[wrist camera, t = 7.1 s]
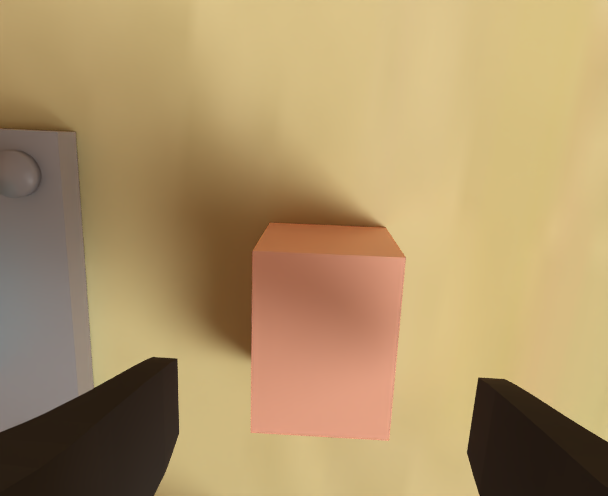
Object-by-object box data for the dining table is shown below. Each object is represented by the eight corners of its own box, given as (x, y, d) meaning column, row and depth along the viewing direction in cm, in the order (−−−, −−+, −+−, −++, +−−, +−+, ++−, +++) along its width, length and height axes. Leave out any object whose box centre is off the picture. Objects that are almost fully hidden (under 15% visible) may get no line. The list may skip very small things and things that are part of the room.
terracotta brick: (374, 370, 19) (389, 440, 15) (267, 364, 19) (250, 432, 15) (385, 226, 18) (405, 257, 13) (270, 222, 18) (252, 250, 13)
